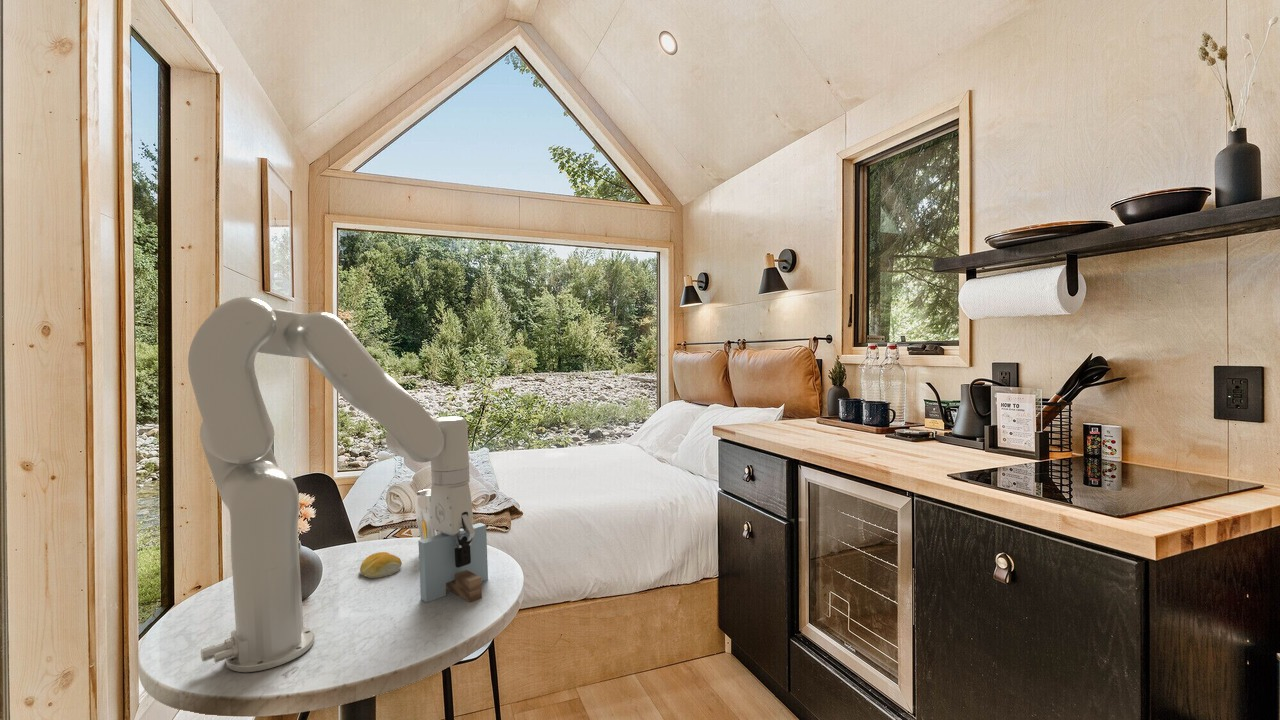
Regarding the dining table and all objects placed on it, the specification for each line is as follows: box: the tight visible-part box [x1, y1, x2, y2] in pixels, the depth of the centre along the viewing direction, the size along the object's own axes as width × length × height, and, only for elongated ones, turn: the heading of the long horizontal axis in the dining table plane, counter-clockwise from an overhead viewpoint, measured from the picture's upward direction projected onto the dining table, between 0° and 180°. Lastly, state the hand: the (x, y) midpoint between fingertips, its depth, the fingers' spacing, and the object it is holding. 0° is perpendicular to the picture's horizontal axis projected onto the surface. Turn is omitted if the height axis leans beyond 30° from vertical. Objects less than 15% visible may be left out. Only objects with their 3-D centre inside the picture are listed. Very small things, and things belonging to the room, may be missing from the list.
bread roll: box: [359, 551, 403, 579], centre depth 131 cm, size 8×9×4 cm
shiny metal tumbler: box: [414, 488, 437, 540], centre depth 141 cm, size 7×7×15 cm
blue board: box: [418, 522, 489, 603], centre depth 119 cm, size 14×2×12 cm, turn 137°
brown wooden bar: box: [446, 570, 483, 603], centre depth 120 cm, size 16×3×4 cm, turn 47°
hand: (454, 560), depth 120 cm, fingers open, 6 cm apart
